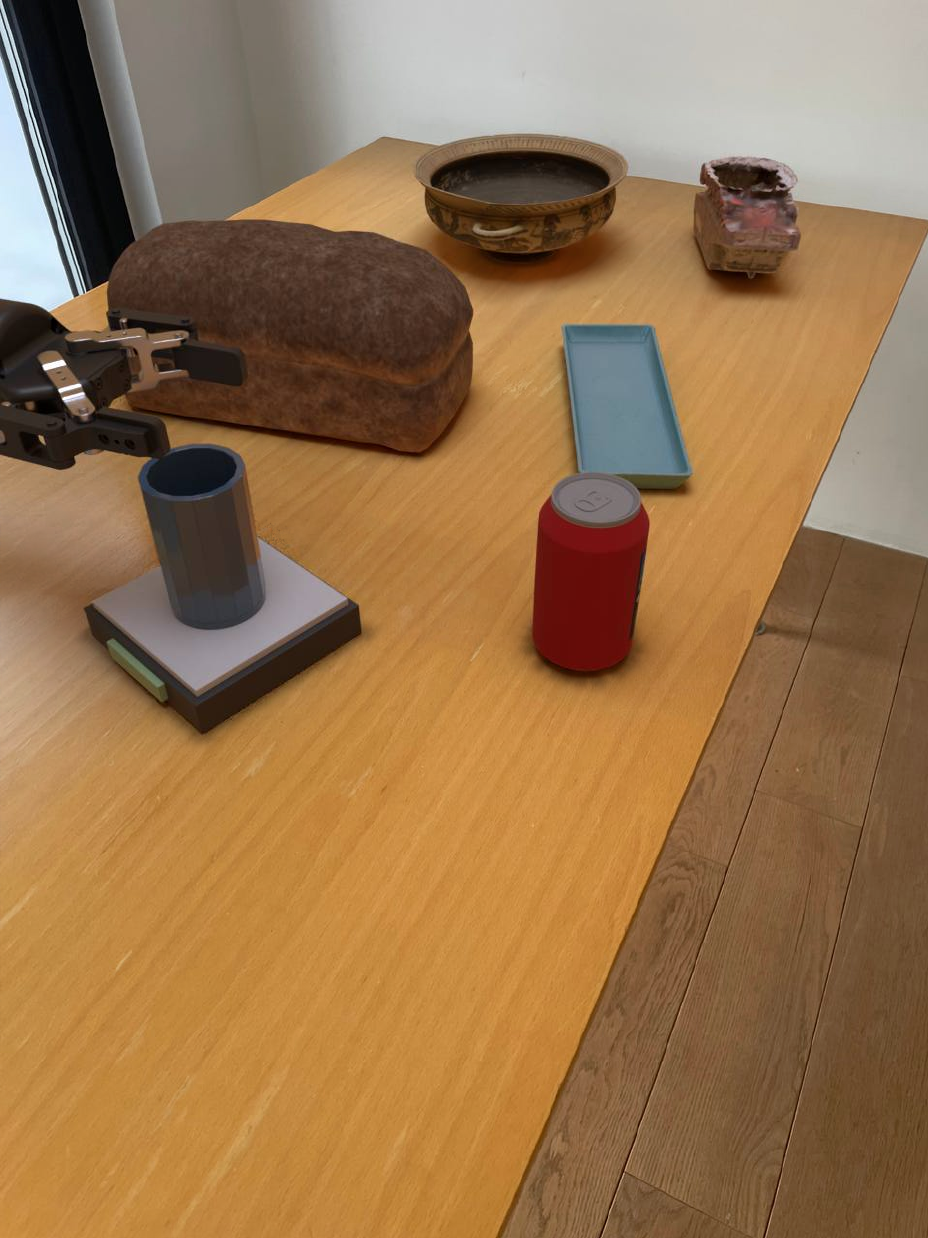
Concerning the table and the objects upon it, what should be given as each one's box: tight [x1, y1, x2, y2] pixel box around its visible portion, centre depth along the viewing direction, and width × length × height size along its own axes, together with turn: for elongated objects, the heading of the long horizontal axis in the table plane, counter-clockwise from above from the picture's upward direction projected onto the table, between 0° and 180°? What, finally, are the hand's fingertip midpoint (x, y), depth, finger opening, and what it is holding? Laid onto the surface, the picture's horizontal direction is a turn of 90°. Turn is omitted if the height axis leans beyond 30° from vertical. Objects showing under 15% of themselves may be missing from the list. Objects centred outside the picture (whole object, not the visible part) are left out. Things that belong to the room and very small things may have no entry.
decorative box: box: [692, 155, 802, 279], centre depth 113 cm, size 13×20×10 cm, turn 172°
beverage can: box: [531, 472, 650, 672], centre depth 64 cm, size 7×7×12 cm
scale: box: [83, 535, 362, 735], centre depth 68 cm, size 14×13×3 cm
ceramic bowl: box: [412, 133, 629, 265], centre depth 116 cm, size 30×24×10 cm
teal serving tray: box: [561, 323, 694, 490], centre depth 90 cm, size 26×9×2 cm, turn 179°
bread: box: [106, 218, 474, 453], centre depth 88 cm, size 15×32×16 cm, turn 73°
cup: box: [137, 443, 266, 630], centre depth 63 cm, size 6×6×10 cm
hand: (206, 401), depth 56 cm, fingers open, 8 cm apart
